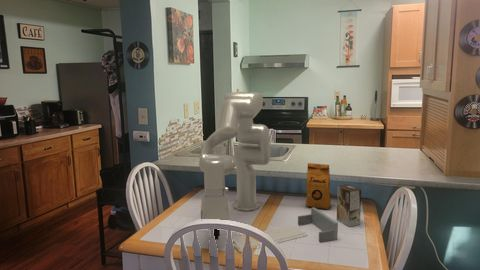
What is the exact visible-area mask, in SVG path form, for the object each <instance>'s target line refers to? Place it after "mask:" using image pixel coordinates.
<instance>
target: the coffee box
mask: <svg viewBox="0 0 480 270" xmlns="http://www.w3.org/2000/svg"><path fill="white" fill-rule="evenodd" d="M336 190H337V194H336V221H337V222H339V223H342V224H343V225H345V226H347V227H348V228H351V227H355V226H360V224H361V208H362V207H361V206H362V205H361V204H362V189H361V188H358V187H356V186H353V185H350V184H340V185H337V189H336Z"/></svg>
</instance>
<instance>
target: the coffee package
mask: <svg viewBox="0 0 480 270" xmlns="http://www.w3.org/2000/svg"><path fill="white" fill-rule="evenodd" d="M306 169H307V170H306V171H307V172H306V173H307V174H306V176H307V177H306V199H305V206H306V207H309V208H310V207H311V208H313V207H315V208H316V209H322V210H329V208H330V207H331V206H332V203H331V201H332V194H331V178H330V175H331V174H330V164H323V163H322V164H321V163H311V162H310V163H309V162H307V168H306Z"/></svg>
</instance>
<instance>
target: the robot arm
mask: <svg viewBox="0 0 480 270" xmlns="http://www.w3.org/2000/svg"><path fill="white" fill-rule="evenodd" d="M223 99H224V101H223V102H222V106H221V110H220V114H219V119H218V124H217V129H216V130H215V131H214V132H213V133H211V135H209V136H208V138H207V139H206V140H205V141H204V143H203V145H202V146H201V151H200V156H199V160H198V161H199V162H198V166H199V169H200V171H201V172H202V173H203V175H204V177H203V178H204V180H203V181H204V182H203V183H204V187H203V188H204V194H202V196H201V202H200V203H201V204H200V218H201V220H202V219H220V220H229V221H230V209H229V200H228V196H227V193H226V192H229V187H226V185H225V184H226V182H225V178H226V177H225V176H228V175H231V174H233V172H234V171H235V170H236V202H235V203H234V204H233V207H234V209H236V210H237V211H242V212H248V211H249V212H250V211H255V210H257V209H259V207H260V204H259V202H258V201H257V172H256V170H255V168H254V166H253V165H255V166H266V165H268V164H270V160H271V142H270V131H269V127H268V126H267V125H265V124H260V123H259V124H256V123H254V118H255V117H256V116H257V115H258V113H260V112H261V110H262V108H263V106H264V105H263V104H264V98H263V95H262V94H261V93H260V92H252V91H251V92H245V91H240V92H239V91H237V92H236V91H231V92H227V93H226V94H225V96H224V98H223ZM234 138H236V141H237V142H238V143H239V145H237V146H236V147H235V148H234V154H233V155H234V156H233V155H229V154H219V153H218V154H216V153H212V151H213V150H214V149H215V147H217V146H219V144H222V143H225V142H227V141H229V140H230V141H231V140H232V139H234ZM220 230H221V229H220ZM220 230H217V229H214V236H215V240H214V241H217V240H219V237H220V236H221V235H220V234H221V233H220Z"/></svg>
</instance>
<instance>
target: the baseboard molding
mask: <svg viewBox="0 0 480 270" xmlns="http://www.w3.org/2000/svg"><path fill="white" fill-rule="evenodd" d="M262 232H265V233H266V234H268V235H269V236H270V237H271V238H272V239H273V240H274V241H275V242H277V243H278V244H282V243H284V242H288V241H293V240H297V239H301V238H304V237H308V234H307V233H306V232H305V231H304V230H302V229H300V228H298V227H297V226H295V225H294V224H289V225H286V226H281V227H277V228H273V229H269V230H264V231H262ZM245 236H246V235H242V236H238V237H235V238H232V239H233V244H234V247H235V248H236V249H237V250H238V251H239V252H238V251H237V250H236V249H235V248H234V247H233V248H234V249H235V250H236V251H237V252H238V253H239V254H240V253H241V254H242V253H243V252H242V249H243V246H244V242H245ZM250 241H251V246H252V248H253V247H255V246H257V245H258V246H259V248H258V249H261V248H260V247H261V244H260V242H258V241H256V240H255V239H253V238H251V237H250Z"/></svg>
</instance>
